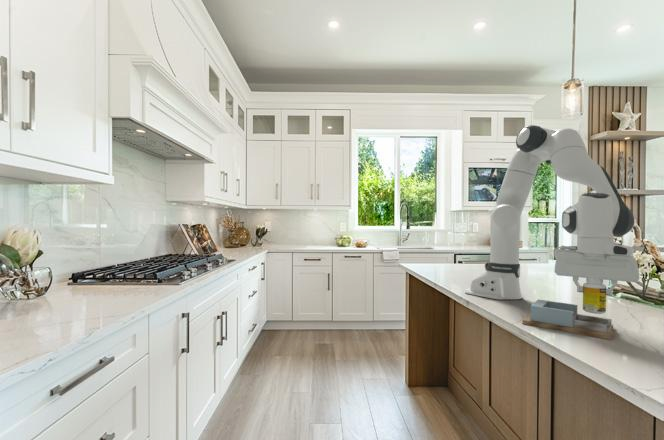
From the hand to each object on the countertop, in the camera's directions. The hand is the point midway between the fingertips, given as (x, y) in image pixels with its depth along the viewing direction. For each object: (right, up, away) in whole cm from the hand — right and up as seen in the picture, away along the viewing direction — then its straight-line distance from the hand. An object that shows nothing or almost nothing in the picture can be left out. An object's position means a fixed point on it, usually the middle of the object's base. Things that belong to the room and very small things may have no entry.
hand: (594, 293), depth 107 cm
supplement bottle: (0, -6, 0) cm, 6 cm away
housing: (-8, -9, +6) cm, 14 cm away
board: (-6, -11, +4) cm, 13 cm away
